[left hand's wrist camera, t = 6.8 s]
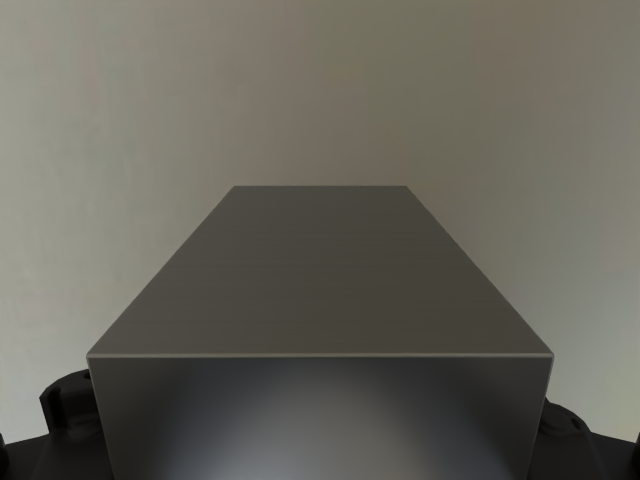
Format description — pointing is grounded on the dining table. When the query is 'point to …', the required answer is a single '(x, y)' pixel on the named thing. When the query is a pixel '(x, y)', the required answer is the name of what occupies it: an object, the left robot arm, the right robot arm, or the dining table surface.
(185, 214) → the dining table surface
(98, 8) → the dining table surface
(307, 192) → the bar
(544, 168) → the dining table surface
